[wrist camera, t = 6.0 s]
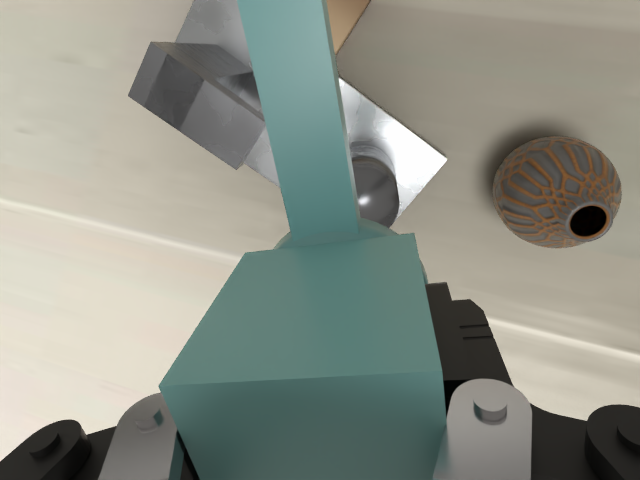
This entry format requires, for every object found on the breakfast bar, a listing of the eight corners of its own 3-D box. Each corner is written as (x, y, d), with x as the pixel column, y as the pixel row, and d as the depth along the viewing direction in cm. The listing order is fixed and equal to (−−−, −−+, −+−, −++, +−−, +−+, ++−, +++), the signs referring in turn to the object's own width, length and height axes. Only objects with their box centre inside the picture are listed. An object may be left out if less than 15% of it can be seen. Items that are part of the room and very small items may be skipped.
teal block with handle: (390, -118, 9) (416, -436, 3) (434, 352, 13) (475, 568, 8) (165, -55, 10) (-133, -205, 4) (282, 362, 14) (223, 559, 9)
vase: (463, 194, 31) (493, 243, 23) (524, 110, 28) (582, 133, 20) (540, 235, 31) (595, 297, 24) (607, 157, 29) (695, 198, 21)
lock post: (210, -21, 27) (127, -57, 18) (445, 156, 30) (475, 201, 21) (156, 96, 31) (65, 116, 22) (370, 244, 34) (367, 315, 25)
